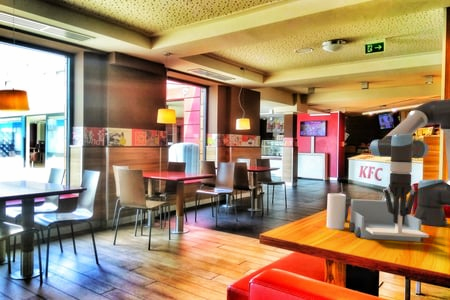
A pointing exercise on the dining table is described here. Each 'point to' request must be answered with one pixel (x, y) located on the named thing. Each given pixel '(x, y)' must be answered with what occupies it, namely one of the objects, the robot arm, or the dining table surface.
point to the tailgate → (392, 232)
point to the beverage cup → (346, 202)
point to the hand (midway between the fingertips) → (398, 231)
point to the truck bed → (378, 220)
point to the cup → (336, 211)
